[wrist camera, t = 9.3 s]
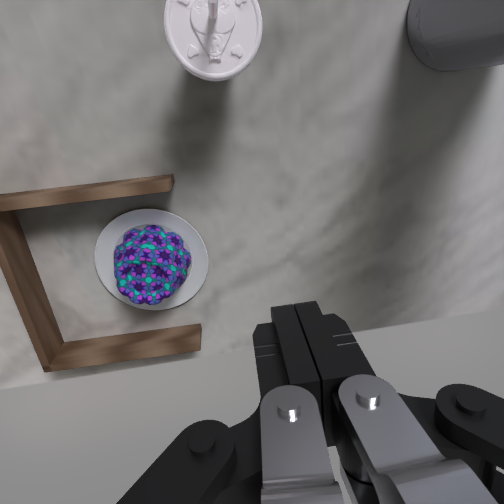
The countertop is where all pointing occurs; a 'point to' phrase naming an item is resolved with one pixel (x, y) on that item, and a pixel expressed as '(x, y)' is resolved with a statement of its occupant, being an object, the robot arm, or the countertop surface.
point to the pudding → (151, 260)
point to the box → (35, 299)
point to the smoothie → (213, 35)
